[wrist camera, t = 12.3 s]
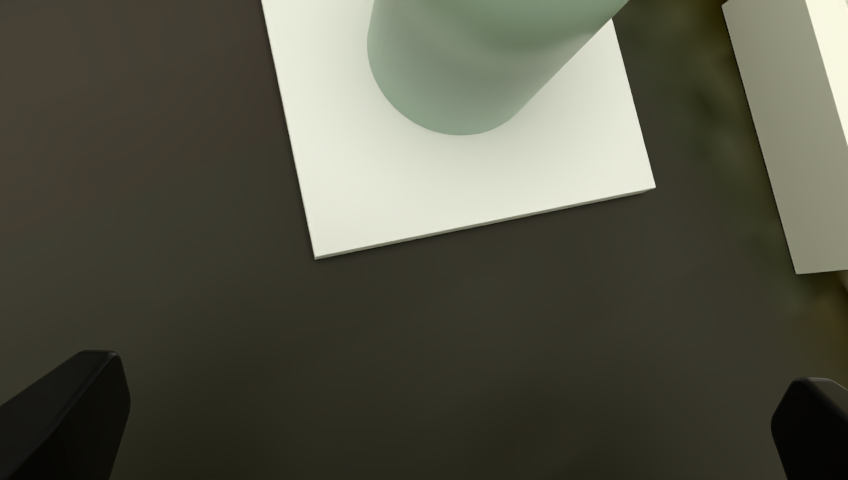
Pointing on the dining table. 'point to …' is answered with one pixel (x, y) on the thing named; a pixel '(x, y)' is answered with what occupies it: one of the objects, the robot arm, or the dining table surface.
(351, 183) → the cream panel
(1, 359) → the dining table surface
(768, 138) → the shallow square tray
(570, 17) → the light green piece
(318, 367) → the dining table surface
